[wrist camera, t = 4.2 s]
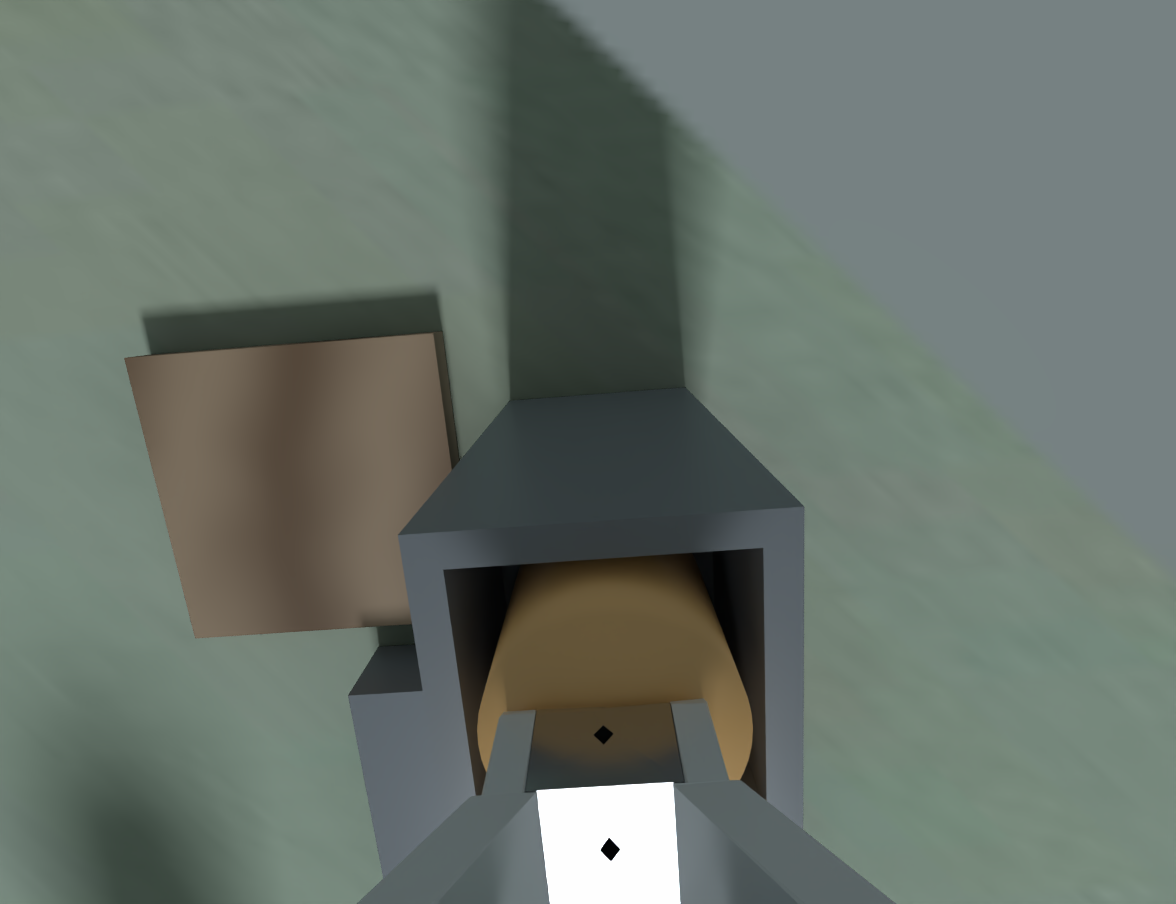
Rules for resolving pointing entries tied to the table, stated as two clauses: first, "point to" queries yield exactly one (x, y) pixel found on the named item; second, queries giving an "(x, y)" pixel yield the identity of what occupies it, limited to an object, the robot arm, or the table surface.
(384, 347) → the walnut board
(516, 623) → the button
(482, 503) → the post
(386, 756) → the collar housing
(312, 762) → the table surface
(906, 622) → the table surface
